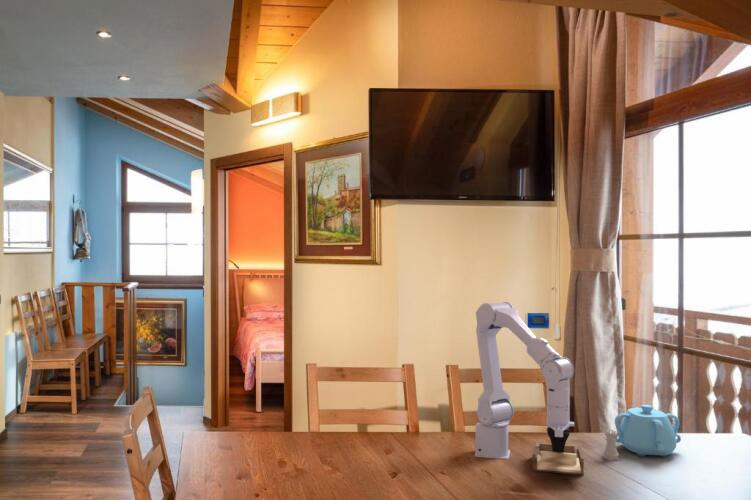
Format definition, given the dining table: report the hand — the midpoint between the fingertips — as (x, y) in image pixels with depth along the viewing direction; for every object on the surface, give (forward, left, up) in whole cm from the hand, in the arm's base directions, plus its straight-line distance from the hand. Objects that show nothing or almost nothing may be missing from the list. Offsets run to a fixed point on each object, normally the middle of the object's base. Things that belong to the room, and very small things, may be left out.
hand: (558, 456), depth 162 cm
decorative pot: (+26, +29, -6) cm, 39 cm away
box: (0, +8, -5) cm, 9 cm away
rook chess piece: (+15, +19, -5) cm, 24 cm away
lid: (0, -2, -1) cm, 2 cm away
